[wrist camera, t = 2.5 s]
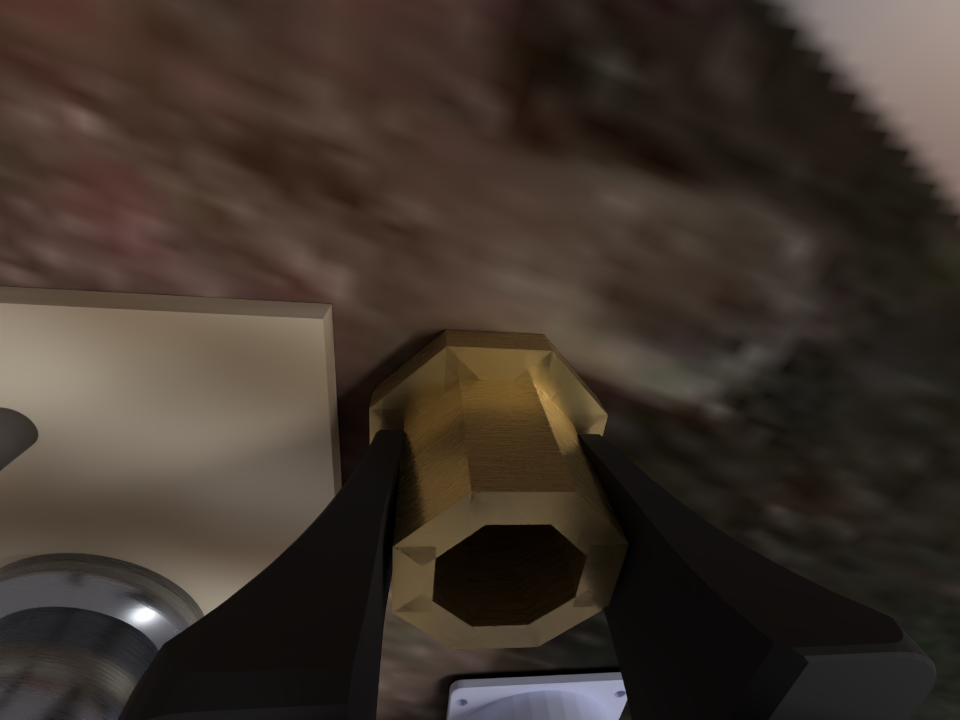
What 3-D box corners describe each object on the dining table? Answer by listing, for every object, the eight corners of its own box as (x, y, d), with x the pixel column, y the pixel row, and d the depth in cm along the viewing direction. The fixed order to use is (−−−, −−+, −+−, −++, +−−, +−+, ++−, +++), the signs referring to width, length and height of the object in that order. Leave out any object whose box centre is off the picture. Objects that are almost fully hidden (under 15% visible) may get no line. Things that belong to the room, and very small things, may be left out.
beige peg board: (350, 645, 18) (311, 897, 12) (-29, 659, 16) (-289, 959, 10) (331, 303, 11) (228, 488, 6) (-298, 270, 10) (-1356, 480, 4)
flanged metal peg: (222, 677, 16) (142, 885, 12) (20, 686, 15) (-146, 913, 11) (186, 551, 13) (65, 764, 9) (-64, 554, 12) (-335, 790, 8)
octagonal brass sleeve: (568, 510, 15) (623, 665, 11) (375, 510, 15) (350, 678, 10) (610, 337, 13) (708, 454, 8) (372, 326, 12) (336, 447, 7)
